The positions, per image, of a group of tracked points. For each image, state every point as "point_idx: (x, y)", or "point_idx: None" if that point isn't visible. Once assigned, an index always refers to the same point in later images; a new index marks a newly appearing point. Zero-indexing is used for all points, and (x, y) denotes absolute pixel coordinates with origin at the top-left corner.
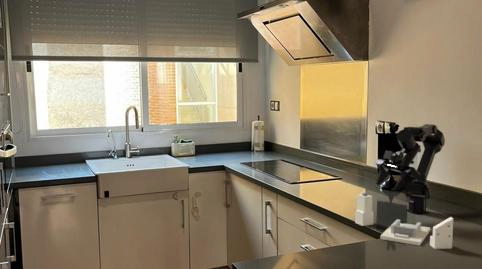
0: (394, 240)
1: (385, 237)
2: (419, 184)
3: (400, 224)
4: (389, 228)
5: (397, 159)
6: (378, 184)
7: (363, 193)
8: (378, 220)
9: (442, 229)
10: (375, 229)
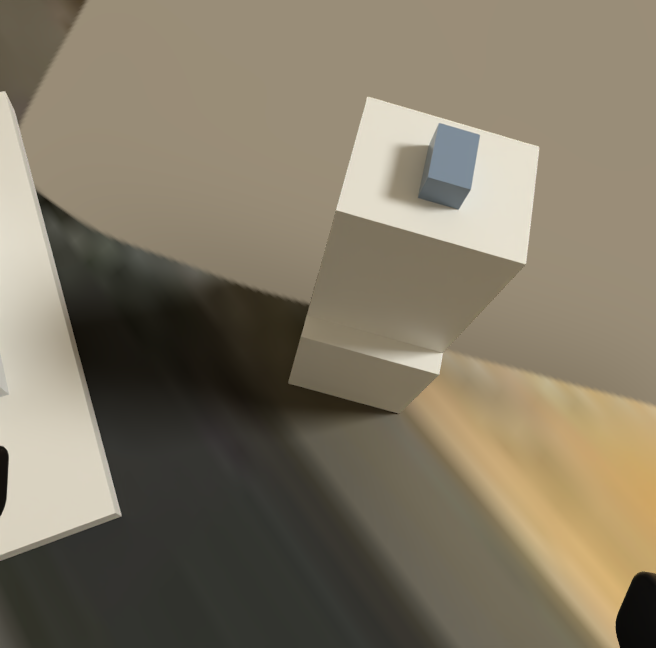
0: None
1: None
2: None
3: (14, 496)
4: (40, 293)
5: None
6: (626, 626)
7: (459, 134)
8: (338, 539)
9: None
10: (181, 274)
